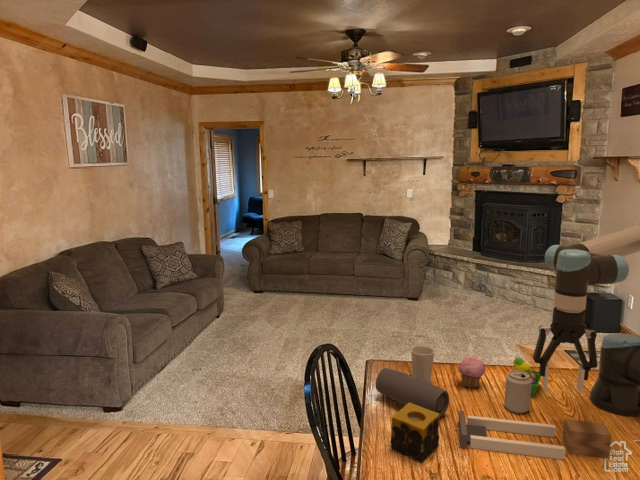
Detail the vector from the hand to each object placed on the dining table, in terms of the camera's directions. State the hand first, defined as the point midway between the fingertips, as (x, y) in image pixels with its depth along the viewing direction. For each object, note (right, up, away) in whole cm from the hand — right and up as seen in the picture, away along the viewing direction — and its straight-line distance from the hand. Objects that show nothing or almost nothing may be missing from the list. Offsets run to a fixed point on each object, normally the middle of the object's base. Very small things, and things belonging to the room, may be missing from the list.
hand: (562, 388), depth 130 cm
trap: (-21, -16, +8) cm, 28 cm away
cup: (-29, -11, +41) cm, 52 cm away
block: (+7, -17, +2) cm, 19 cm away
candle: (-39, -18, +3) cm, 43 cm away
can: (-3, -14, +23) cm, 27 cm away
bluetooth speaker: (-36, -14, +25) cm, 46 cm away
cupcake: (-13, -11, +38) cm, 42 cm away
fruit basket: (+5, -11, +35) cm, 37 cm away
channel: (-11, -17, +6) cm, 21 cm away
